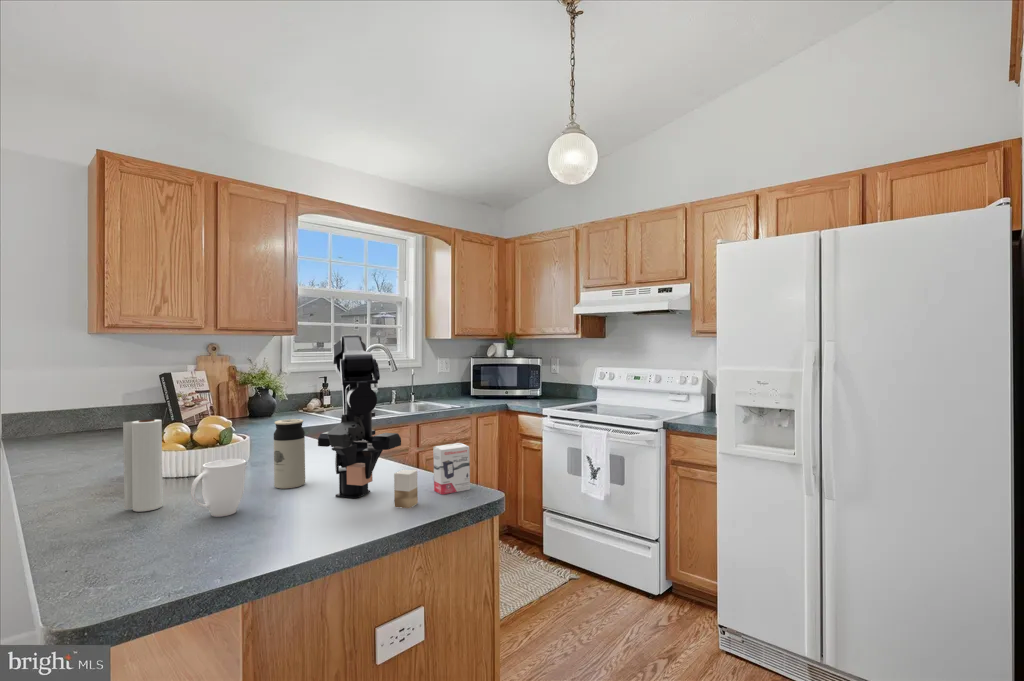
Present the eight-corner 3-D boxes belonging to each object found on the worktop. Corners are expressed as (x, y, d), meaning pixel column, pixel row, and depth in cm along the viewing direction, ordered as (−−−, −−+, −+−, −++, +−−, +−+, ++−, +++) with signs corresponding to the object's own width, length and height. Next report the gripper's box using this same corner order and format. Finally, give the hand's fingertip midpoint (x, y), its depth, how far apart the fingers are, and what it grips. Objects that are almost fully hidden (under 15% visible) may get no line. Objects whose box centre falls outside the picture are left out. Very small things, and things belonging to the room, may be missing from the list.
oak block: (394, 507, 127) (394, 490, 128) (403, 502, 131) (403, 485, 131) (409, 508, 126) (409, 491, 126) (417, 503, 130) (417, 487, 130)
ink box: (441, 495, 137) (440, 449, 137) (433, 490, 141) (432, 446, 141) (470, 489, 142) (470, 445, 142) (462, 485, 146) (461, 442, 146)
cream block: (394, 490, 128) (394, 473, 128) (403, 485, 131) (402, 469, 131) (409, 491, 126) (408, 474, 126) (417, 487, 130) (417, 470, 130)
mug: (230, 505, 131) (230, 456, 131) (253, 511, 126) (253, 460, 126) (181, 519, 120) (181, 466, 120) (204, 526, 116) (205, 471, 116)
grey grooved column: (168, 506, 131) (167, 419, 131) (142, 513, 125) (141, 422, 126) (150, 503, 134) (149, 417, 134) (124, 510, 128) (122, 421, 129)
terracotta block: (346, 484, 120) (346, 466, 120) (357, 480, 124) (357, 462, 124) (362, 485, 119) (361, 467, 119) (372, 481, 122) (372, 463, 122)
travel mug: (297, 480, 154) (296, 418, 155) (310, 485, 149) (309, 420, 149) (269, 485, 149) (268, 421, 149) (281, 491, 143) (280, 423, 143)
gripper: (300, 412, 117) (301, 484, 117) (373, 414, 111) (374, 490, 110) (333, 406, 127) (334, 472, 127) (401, 408, 121) (402, 477, 121)
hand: (359, 477), depth 121 cm, fingers closed on terracotta block, 4 cm apart
